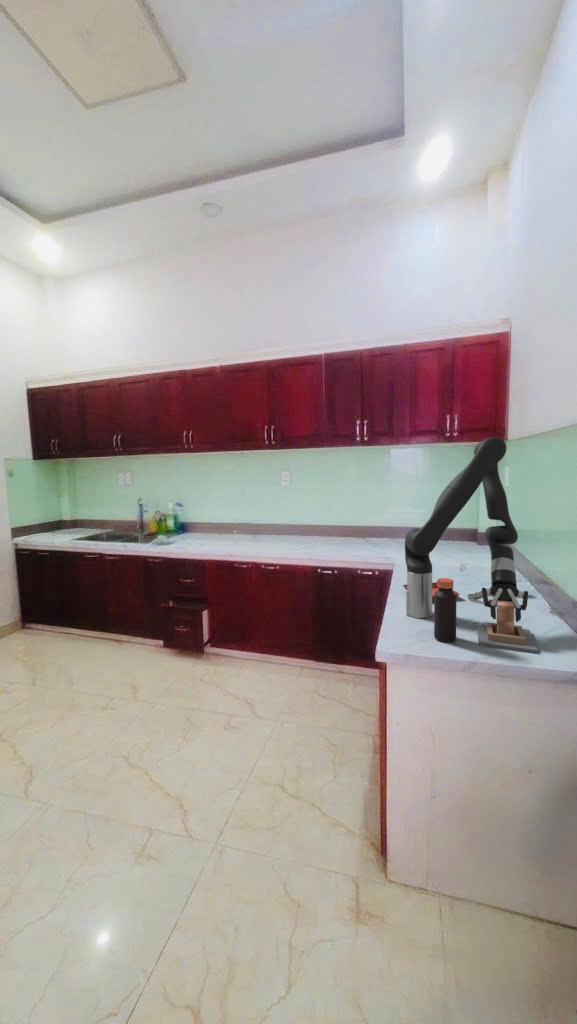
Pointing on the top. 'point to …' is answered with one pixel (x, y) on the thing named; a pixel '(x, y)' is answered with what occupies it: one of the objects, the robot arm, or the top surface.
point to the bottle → (445, 611)
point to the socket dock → (506, 638)
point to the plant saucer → (435, 590)
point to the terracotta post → (505, 617)
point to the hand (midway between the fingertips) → (505, 619)
